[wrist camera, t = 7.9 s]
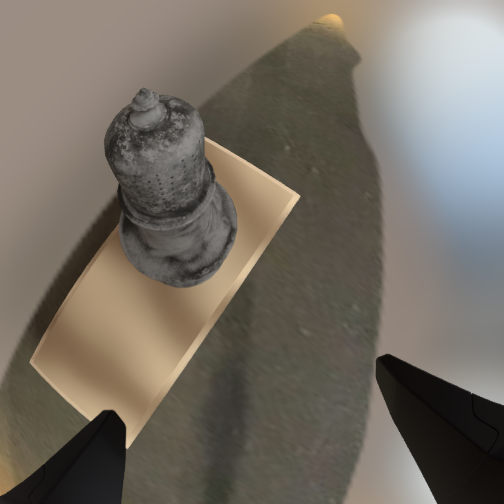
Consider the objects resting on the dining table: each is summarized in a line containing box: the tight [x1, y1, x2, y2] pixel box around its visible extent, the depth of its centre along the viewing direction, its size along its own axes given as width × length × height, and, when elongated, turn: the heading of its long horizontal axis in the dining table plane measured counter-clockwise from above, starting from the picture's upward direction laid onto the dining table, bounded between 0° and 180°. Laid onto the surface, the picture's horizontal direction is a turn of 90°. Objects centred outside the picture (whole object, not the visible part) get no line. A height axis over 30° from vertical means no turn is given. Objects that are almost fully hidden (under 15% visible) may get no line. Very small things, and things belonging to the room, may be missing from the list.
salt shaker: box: [104, 88, 238, 288], centre depth 11 cm, size 6×6×12 cm
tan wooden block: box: [29, 137, 300, 449], centre depth 18 cm, size 20×8×4 cm, turn 147°
